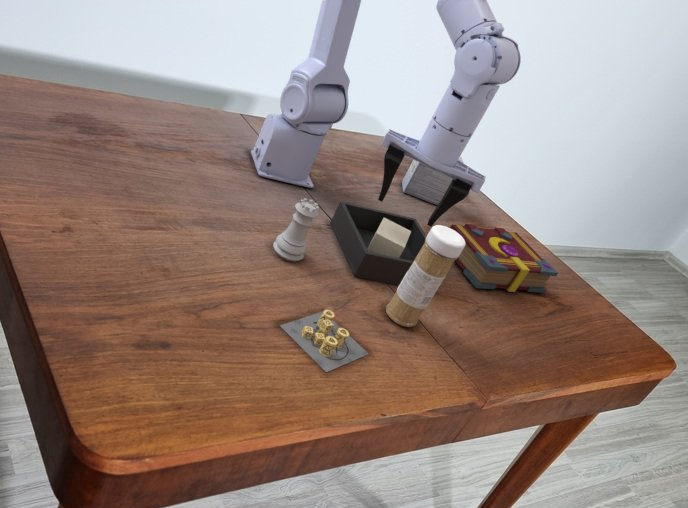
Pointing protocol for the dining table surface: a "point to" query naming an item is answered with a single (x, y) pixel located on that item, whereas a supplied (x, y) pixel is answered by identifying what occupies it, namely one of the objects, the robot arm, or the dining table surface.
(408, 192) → the medicine box
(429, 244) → the sprinkles bottle
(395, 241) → the small box
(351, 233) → the basket
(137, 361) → the dining table surface
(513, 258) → the decorative book
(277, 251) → the rook chess piece
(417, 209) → the dining table surface
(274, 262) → the dining table surface
